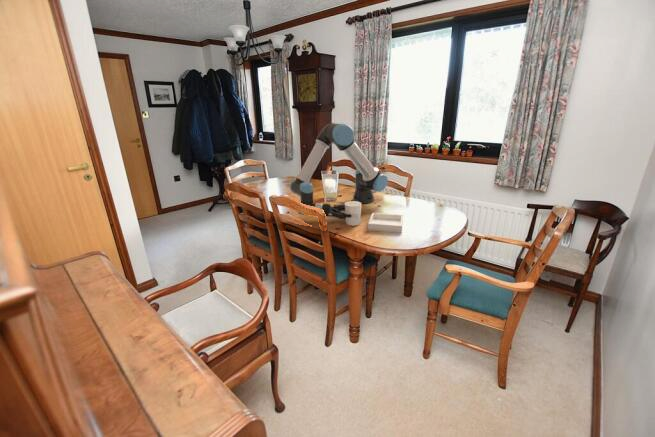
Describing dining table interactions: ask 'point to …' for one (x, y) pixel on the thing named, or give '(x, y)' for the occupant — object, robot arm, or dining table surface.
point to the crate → (386, 222)
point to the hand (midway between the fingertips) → (359, 212)
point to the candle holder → (353, 208)
